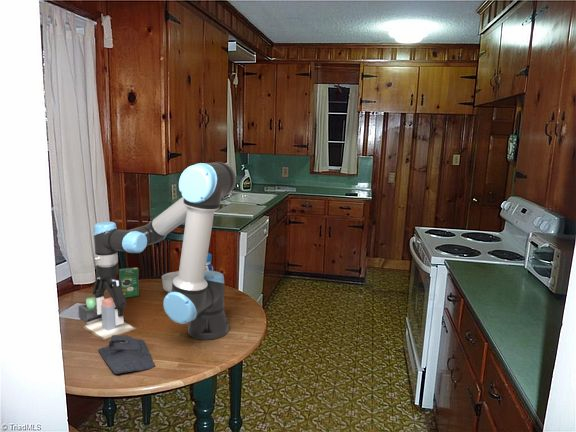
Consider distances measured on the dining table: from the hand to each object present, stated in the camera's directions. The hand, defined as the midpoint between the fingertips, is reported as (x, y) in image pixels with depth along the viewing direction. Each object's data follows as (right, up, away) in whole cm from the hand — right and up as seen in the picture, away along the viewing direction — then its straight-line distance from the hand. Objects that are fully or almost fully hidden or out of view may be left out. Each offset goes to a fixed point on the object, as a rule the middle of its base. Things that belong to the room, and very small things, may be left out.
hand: (110, 318), depth 160 cm
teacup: (+13, +3, +42) cm, 44 cm away
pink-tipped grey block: (0, -3, +1) cm, 4 cm away
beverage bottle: (+28, +2, +35) cm, 45 cm away
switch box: (-11, -2, +9) cm, 15 cm away
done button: (-11, +1, +9) cm, 14 cm away
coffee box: (-5, +2, +32) cm, 33 cm away
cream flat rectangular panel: (-1, -4, +1) cm, 4 cm away
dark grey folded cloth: (+13, -9, -19) cm, 25 cm away
